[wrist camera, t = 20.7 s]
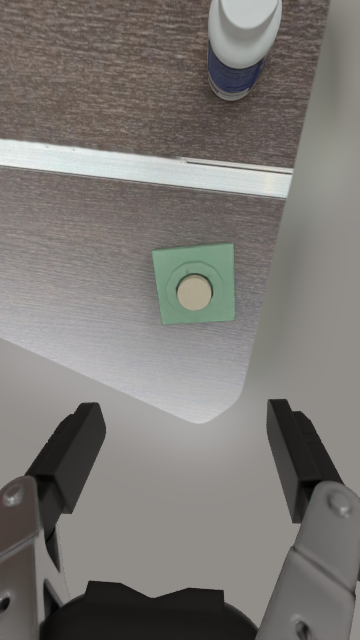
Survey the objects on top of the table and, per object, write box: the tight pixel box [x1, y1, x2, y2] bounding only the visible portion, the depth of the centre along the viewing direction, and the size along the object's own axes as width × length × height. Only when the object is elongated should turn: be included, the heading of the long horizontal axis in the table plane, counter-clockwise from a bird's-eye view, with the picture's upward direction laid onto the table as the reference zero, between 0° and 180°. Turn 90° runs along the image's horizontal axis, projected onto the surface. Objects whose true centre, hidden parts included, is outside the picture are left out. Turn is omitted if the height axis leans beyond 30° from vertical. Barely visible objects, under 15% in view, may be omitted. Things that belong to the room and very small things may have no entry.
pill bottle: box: [207, 0, 282, 101], centre depth 20 cm, size 5×5×10 cm
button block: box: [152, 242, 235, 325], centre depth 32 cm, size 10×10×4 cm
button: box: [177, 275, 211, 311], centre depth 29 cm, size 4×4×2 cm
